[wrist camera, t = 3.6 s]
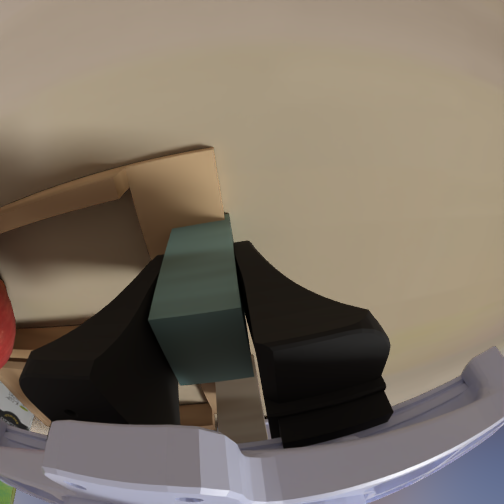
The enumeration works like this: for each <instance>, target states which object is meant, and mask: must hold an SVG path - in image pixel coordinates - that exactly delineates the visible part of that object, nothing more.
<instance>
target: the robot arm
mask: <svg viewBox="0 0 504 504" xmlns="http://www.w3.org/2000/svg"><path fill="white" fill-rule="evenodd" d="M233 248H234V256H235V261H236V267H237V273H238V279H239V284H240V290H241V296H242V301H243V307H244V312H245V316H246V319H247V323H248V326H249V330H250V334H251V337H252V341H253V344H254V348H255V352H256V356H257V361H258V367H259V373H260V378H261V384H262V390H263V395H264V401H265V407H266V412H267V418H268V419H265V424H266V430H267V435H268V440H261V441H255V442H247V443H239V444H236V443H235V442H234V441H232V440H231V439H229V438H228V437H227V436H225V435H224V434H222V433H221V432H218V427H217V431H214V430H210V429H206V428H202V427H198V426H183V425H181V423H180V412H179V396H178V380H177V378H176V376H175V374H174V372H173V370H172V368H171V366H170V364H169V363H168V361H167V359H166V357H165V355H164V353H163V351H162V349H161V347H160V345H159V343H158V340H157V338H156V336H155V334H154V332H153V330H152V328H151V326H150V323H149V321H148V318H149V313H150V309H151V305H152V301H153V297H154V292H155V288H156V284H157V281H158V277H159V273H160V269H161V265H162V262H163V258H164V254H162V255H157V256H156V257H155V258H154V259H153V260H152V261H151V262H150V263H149V264H148V265H147V266H146V267H145V268H144V269H143V270H142V271H141V272H140V273H139V275H138V276H137V277H136V278H135V279H134V280H133V281H132V282H131V283H130V284H129V285H128V286H127V287H126V288H125V289H124V290H123V291H122V292H121V293H120V294H119V295H118V296H117V297H116V298H115V299H114V300H113V301H111V302H110V303H109V304H108V305H107V306H105V307H104V308H103V309H102V310H101V311H99V312H98V313H97V314H95V315H94V316H93V317H91V318H90V319H88V320H87V321H86V322H84V323H83V324H81V325H80V326H78V327H77V328H75V329H74V330H72V331H70V332H69V333H67V334H65V335H63V336H62V337H60V338H58V339H56V340H54V341H52V342H50V343H48V344H46V345H44V346H42V347H40V348H37V349H35V350H33V351H31V352H30V355H29V357H28V359H27V361H26V364H25V366H24V368H23V371H22V373H21V375H20V378H19V385H20V388H21V390H22V391H23V393H24V395H25V396H26V397H27V398H28V399H29V401H30V402H31V403H32V404H33V405H35V406H36V407H37V408H38V409H39V410H40V411H41V412H42V413H43V414H44V415H45V416H46V417H47V418H48V419H49V420H51V425H50V428H49V432H48V435H44V434H39V433H35V432H31V431H27V430H23V429H20V428H16V427H13V426H9V425H7V424H6V423H5V422H4V421H3V420H2V419H1V418H0V480H1V481H2V482H4V483H6V484H8V485H10V486H12V487H14V488H16V489H18V490H20V491H23V492H25V493H27V494H29V495H32V496H34V497H36V498H39V499H41V500H44V501H46V502H49V503H51V504H367V503H370V502H373V501H375V500H378V499H380V498H383V497H385V496H387V495H390V494H392V493H394V492H396V491H399V490H401V489H403V488H405V487H407V486H409V485H411V484H413V483H415V482H417V481H419V480H421V479H423V478H425V477H427V476H429V475H431V474H432V473H434V472H436V471H438V470H440V469H441V468H443V467H445V466H446V465H448V464H450V463H451V462H453V461H454V460H456V459H458V458H459V457H461V456H462V455H464V454H465V453H467V452H468V451H470V450H471V449H473V448H474V447H476V446H477V445H479V444H480V443H482V442H483V441H484V440H486V439H487V438H488V437H490V436H491V435H492V434H494V433H495V432H496V431H497V430H498V429H499V428H500V427H501V426H502V425H503V424H504V357H503V355H502V354H501V353H500V351H499V350H498V349H497V348H496V346H493V347H491V348H489V349H488V350H486V351H484V352H482V353H481V354H479V355H477V356H475V357H474V358H473V359H472V360H470V361H469V362H468V364H467V365H466V366H465V368H464V370H463V372H462V374H461V375H460V376H458V377H456V378H455V379H453V380H451V381H449V382H447V383H445V384H443V385H441V386H438V387H436V388H434V389H432V390H430V391H428V392H426V393H423V394H421V395H419V396H416V397H414V398H412V399H409V400H407V401H404V402H402V403H399V404H397V405H394V406H392V407H391V405H390V403H389V401H388V398H387V396H386V394H385V392H384V390H385V389H386V384H385V382H384V380H383V378H382V376H381V375H382V372H383V369H384V367H385V364H386V361H387V358H388V355H389V351H390V342H389V338H388V336H387V335H386V333H385V332H384V330H383V328H382V327H381V325H380V324H379V323H378V321H377V320H376V319H375V318H374V316H373V315H372V314H371V313H370V311H369V310H367V309H363V308H359V307H355V306H351V305H347V304H343V303H340V302H337V301H334V300H331V299H328V298H325V297H323V296H320V295H318V294H316V293H314V292H312V291H310V290H307V289H305V288H303V287H302V286H300V285H298V284H296V283H295V282H293V281H291V280H290V279H288V278H287V277H286V276H284V275H283V274H282V273H280V272H279V271H278V270H277V269H275V268H274V267H273V266H272V265H271V264H270V263H269V262H268V261H267V260H266V259H265V258H264V257H263V256H262V255H261V254H260V253H259V252H258V251H257V250H256V249H255V247H254V246H253V245H252V243H251V242H250V241H241V242H235V243H233Z"/></svg>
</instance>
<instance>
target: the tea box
mask: <svg viewBox="0 0 504 504" xmlns="http://www.w3.org/2000/svg"><path fill="white" fill-rule="evenodd" d="M33 417H34V414H33V413H31V412H30V411H29V410H28V409H27V408H26V407H25V406H24V405H23V404H22V403H21V402H20V401H19V400H18V399H17V398H16V397H15V396H14V395H13V394H12V393H11V392H10V391H9V390H8V389H7V387H6V386H5V385H4V384H3V383H2V382H1V381H0V418H1V419H2V420H3V421H4V422H5V423H6V424H7V425H9V426H13V427H16V428H20V429H23V430H27V431H30V428H31V425H32V421H33ZM15 492H16V488H14V487H12V486H10V485H8V484H6V483H4V482H2V481H1V480H0V504H13V502H14V496H15Z"/></svg>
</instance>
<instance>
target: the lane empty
mask: <svg viewBox="0 0 504 504" xmlns="http://www.w3.org/2000/svg"><path fill="white" fill-rule="evenodd" d="M251 358H252V365H253V371H254V377H249V378H243V379H236V380H228V381H220V382H212V383H202V384H200V385H201V387H202V390H203V392H204V394H205V396H206V398H207V400H208V402H209V403H204V404H192V405H179V412H180V423H181V425H183V426H198V427H202V428H206V429H210V430H215V416H214V414H217V421H218V432H221V433H222V434H224V435H225V436H227V437H228V438H229V439H231V440H232V441H234V442H235V443H236V444H239V443H247V442H255V441H261V440H268V435H267V430H266V424H265V418H264V412H263V407H262V401H261V395H260V389H259V383H258V378H257V372H256V367H255V361H254V356H253V355H251ZM27 359H28V358H11V357H9V359H8V361H7V363H6V364H5V365H4V366H3V367H2V368H1V369H0V381H1V382H2V383H3V384H4V385H5V386H6V387H7V389H8V390H9V391H10V392H11V393H12V394H13V395H14V396H15V397H16V398H17V399H18V400H19V401H20V402H21V403H22V404H23V405H24V406H25V407H26V408H27V409H28V410H29V411H30V412H31V413H33V414H34V415H35V416H36V417H37V418H38V419H39V420H40V421H41V422H43V423H44V424H45V425H46V426H49V427H50V425H51V420H49V419H48V418H47V417H46V416H45V415H44V414H43V413H42V412H41V411H40V410H39V409H38V408H37V407H36V406H35V405H33V404H32V403H31V402H30V401H29V399H28V398H27V397H26V396H25V395H24V393H23V391H22V390H21V388H20V385H19V378H20V375H21V373H22V371H23V368H24V366H25V364H26V361H27Z"/></svg>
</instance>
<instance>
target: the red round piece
mask: <svg viewBox="0 0 504 504" xmlns="http://www.w3.org/2000/svg"><path fill="white" fill-rule="evenodd" d="M15 334H16V324H15V317H14V313H13V309H12V305H11V301H10V299H9V297H8V295H7V292H6V287H5V285H4V283H3V281H2V280H1V279H0V369H1V368H2V367H3V366H4V365H5V364H6V363H7V361H8V359H9V357H10V356H11V354H12V350H13V346H14V341H15Z"/></svg>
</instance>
